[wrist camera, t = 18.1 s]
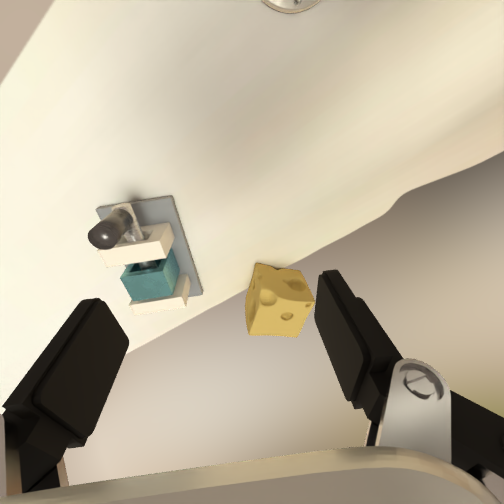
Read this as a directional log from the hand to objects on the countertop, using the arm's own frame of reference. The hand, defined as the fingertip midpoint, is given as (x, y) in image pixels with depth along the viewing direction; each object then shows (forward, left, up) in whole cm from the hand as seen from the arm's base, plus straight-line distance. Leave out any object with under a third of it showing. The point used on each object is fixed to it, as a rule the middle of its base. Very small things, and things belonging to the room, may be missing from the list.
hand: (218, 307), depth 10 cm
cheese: (+25, +6, -30) cm, 40 cm away
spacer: (+14, -15, -29) cm, 35 cm away
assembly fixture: (+13, -15, -30) cm, 36 cm away
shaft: (+11, -15, -26) cm, 32 cm away
